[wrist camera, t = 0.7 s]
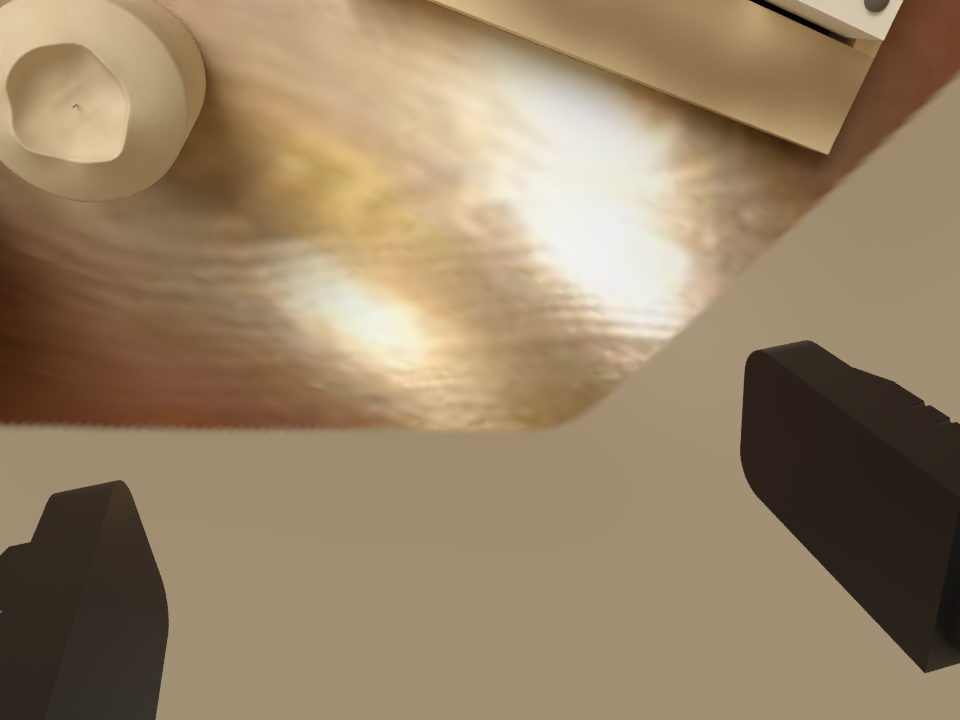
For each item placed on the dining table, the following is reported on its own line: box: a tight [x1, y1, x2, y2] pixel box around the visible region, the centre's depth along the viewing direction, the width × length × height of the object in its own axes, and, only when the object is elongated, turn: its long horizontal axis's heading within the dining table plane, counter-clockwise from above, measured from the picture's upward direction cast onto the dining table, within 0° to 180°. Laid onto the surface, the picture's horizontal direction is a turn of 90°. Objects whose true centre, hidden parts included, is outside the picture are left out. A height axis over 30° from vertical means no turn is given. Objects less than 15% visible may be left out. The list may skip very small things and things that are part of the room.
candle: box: [0, 0, 206, 202], centre depth 25 cm, size 6×6×10 cm
